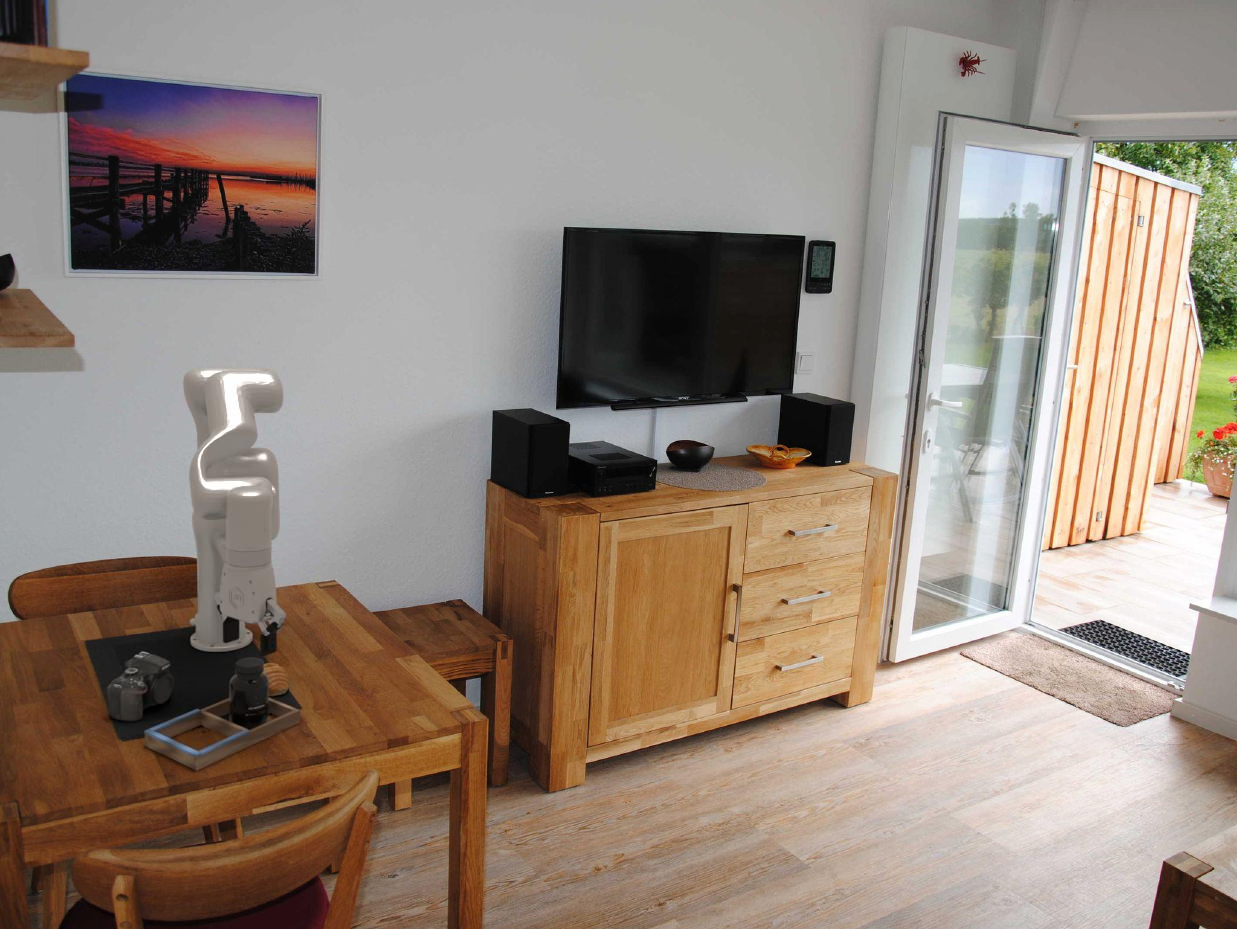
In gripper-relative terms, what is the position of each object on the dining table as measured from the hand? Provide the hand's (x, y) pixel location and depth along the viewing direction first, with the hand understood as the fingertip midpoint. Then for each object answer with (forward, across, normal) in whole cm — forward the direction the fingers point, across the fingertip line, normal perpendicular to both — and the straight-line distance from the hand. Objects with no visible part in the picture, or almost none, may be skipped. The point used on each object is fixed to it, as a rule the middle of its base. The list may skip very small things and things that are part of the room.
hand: (249, 647), depth 187 cm
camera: (+15, -21, -7) cm, 27 cm away
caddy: (+15, -1, -5) cm, 16 cm away
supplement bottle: (+15, -1, 0) cm, 15 cm away
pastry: (+15, -10, +14) cm, 23 cm away
